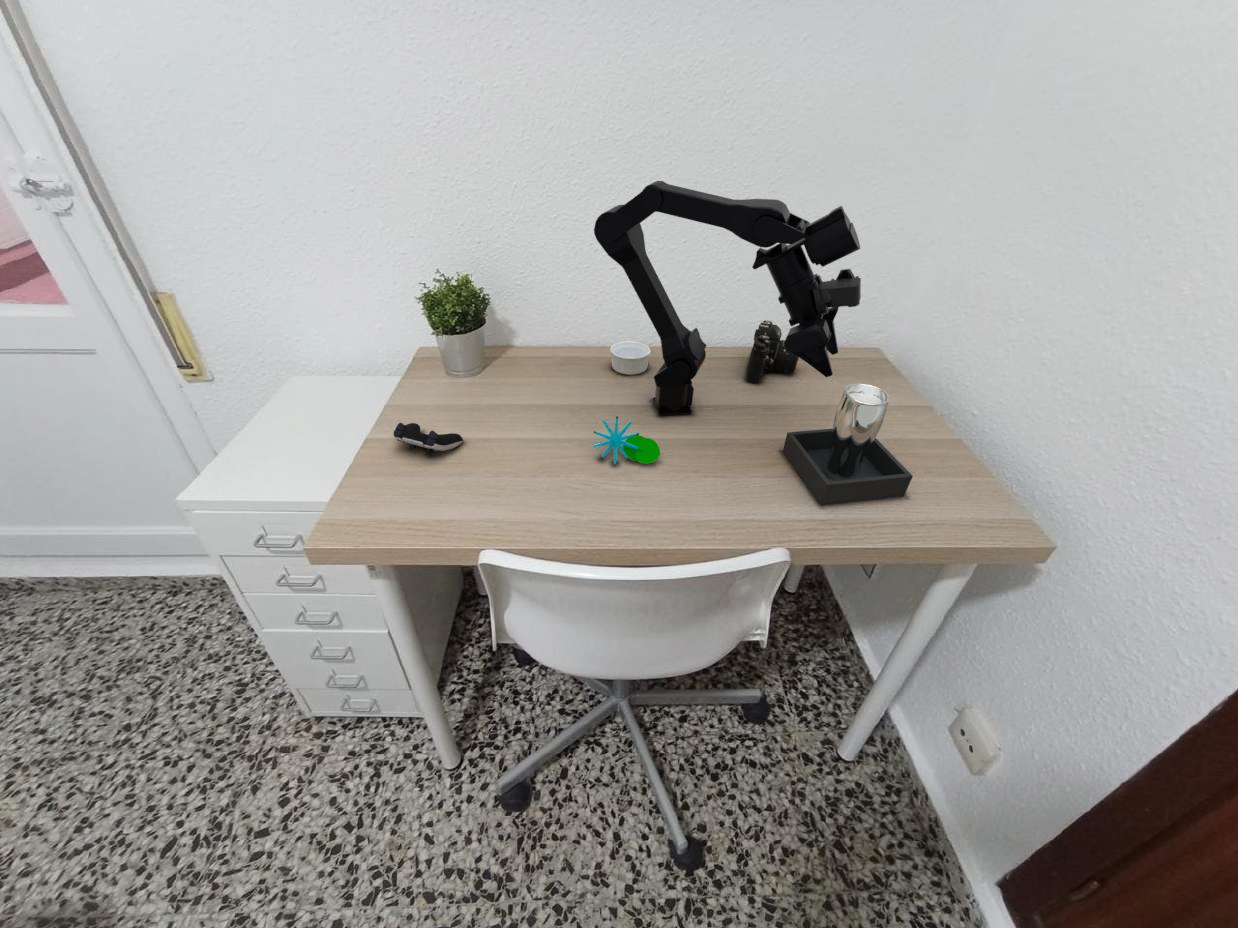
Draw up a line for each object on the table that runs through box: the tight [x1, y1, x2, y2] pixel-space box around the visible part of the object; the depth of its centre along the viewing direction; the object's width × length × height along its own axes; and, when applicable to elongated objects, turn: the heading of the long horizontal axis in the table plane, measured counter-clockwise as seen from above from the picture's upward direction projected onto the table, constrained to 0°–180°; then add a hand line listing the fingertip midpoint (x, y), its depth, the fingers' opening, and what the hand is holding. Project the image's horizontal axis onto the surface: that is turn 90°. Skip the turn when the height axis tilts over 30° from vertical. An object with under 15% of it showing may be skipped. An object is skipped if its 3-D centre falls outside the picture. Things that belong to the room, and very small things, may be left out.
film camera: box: [745, 319, 800, 384], centre depth 120 cm, size 18×12×10 cm
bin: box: [782, 427, 914, 506], centre depth 92 cm, size 15×15×4 cm
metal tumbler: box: [822, 383, 891, 480], centre depth 88 cm, size 7×7×15 cm
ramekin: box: [609, 340, 651, 376], centre depth 121 cm, size 9×9×4 cm
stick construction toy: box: [592, 415, 661, 465], centre depth 96 cm, size 12×7×8 cm
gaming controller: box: [392, 422, 464, 454], centre depth 95 cm, size 11×4×7 cm
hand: (832, 364), depth 92 cm, fingers open, 9 cm apart
